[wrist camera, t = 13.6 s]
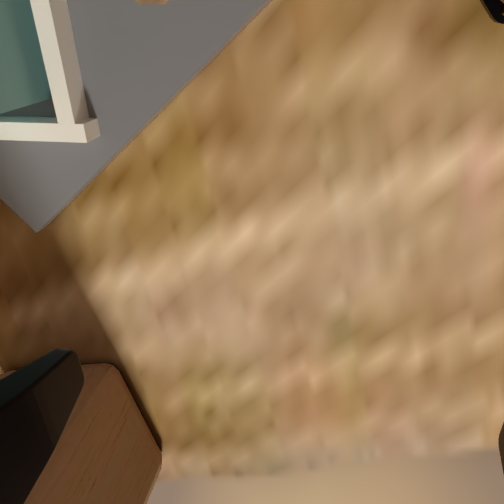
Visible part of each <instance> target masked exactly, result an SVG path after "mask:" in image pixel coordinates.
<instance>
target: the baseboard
mask: <svg viewBox="0 0 504 504" xmlns="http://www.w3.org/2000/svg"><path fill="white" fill-rule="evenodd" d="M271 1H272V0H169V1H168V2H167V3H166V4H165V5H160V4H138V3H137V2H136V1H135V0H30V3H31V8H32V12H33V17H34V21H35V25H36V30H37V34H38V38H39V43H40V47H41V52H42V56H43V60H44V65H45V69H46V73H47V78H48V82H49V87H50V91H51V95H52V99H49V100H45V101H42V102H38V103H35V104H32V105H28V106H25V107H22V108H18V109H15V110H11V111H8V112H5V113H1V114H0V199H1V200H2V201H3V202H4V203H5V204H6V205H7V206H8V207H9V208H10V209H12V210H13V211H14V212H15V213H16V214H17V215H18V216H19V217H20V218H21V219H22V220H23V221H24V222H25V223H26V224H27V225H28V226H29V227H30V228H31V229H32V230H34V231H35V232H36V233H38V232H39V231H40V230H42V229H43V228H45V227H46V226H47V225H49V224H50V223H51V222H52V221H53V220H54V219H55V218H56V217H57V216H58V215H59V214H60V213H61V212H62V211H63V210H64V209H65V208H66V207H67V206H68V205H69V204H70V203H71V202H72V201H73V200H74V199H75V198H76V197H77V196H78V195H79V194H80V193H81V192H82V191H83V190H84V189H85V188H86V187H87V186H88V185H89V184H90V183H91V182H92V181H93V180H94V179H95V178H96V177H97V176H98V175H99V174H100V173H101V172H102V171H103V170H104V169H105V168H106V167H107V166H108V165H109V164H110V163H111V162H112V161H113V160H114V159H115V158H116V157H117V156H118V155H119V154H120V153H121V152H122V151H123V150H124V149H125V148H126V147H127V146H128V145H129V144H130V143H131V142H132V141H133V140H134V139H135V138H136V137H137V136H138V135H139V134H140V133H141V132H142V131H143V130H144V129H145V128H146V127H147V126H148V125H149V124H150V123H151V122H152V121H153V120H154V119H155V118H156V117H157V115H158V114H159V113H160V112H161V111H162V110H163V109H164V108H165V107H166V106H167V105H168V104H169V103H170V102H171V101H172V100H173V99H174V98H175V97H176V96H177V95H178V94H179V93H180V92H181V91H182V90H183V89H184V88H185V87H186V86H187V85H188V84H189V83H190V82H191V81H192V80H193V79H194V78H195V77H196V76H197V75H198V74H199V73H200V72H201V71H202V70H203V69H204V68H205V67H206V66H207V65H208V64H209V63H210V62H211V61H212V60H213V59H214V58H215V57H216V56H217V55H218V54H219V53H220V52H221V51H222V50H223V49H224V48H225V47H226V46H227V45H228V44H229V43H230V42H231V41H232V40H233V39H234V38H235V37H236V36H237V35H238V34H239V33H240V32H241V31H242V30H243V29H244V28H245V27H246V26H247V25H248V24H249V23H250V22H251V21H252V20H253V19H254V18H255V17H256V16H257V15H258V14H259V13H260V12H261V11H262V10H263V9H264V8H265V7H266V6H267V5H268V4H269V3H270V2H271Z"/></svg>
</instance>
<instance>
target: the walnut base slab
mask: <svg viewBox="0 0 504 504" xmlns="http://www.w3.org/2000/svg"><path fill="white" fill-rule="evenodd" d="M135 1H136V2H137V3H138V4H160V5H165V4H166V3H167V2H168V1H169V0H135Z"/></svg>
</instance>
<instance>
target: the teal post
mask: <svg viewBox="0 0 504 504" xmlns="http://www.w3.org/2000/svg"><path fill="white" fill-rule="evenodd" d="M49 99H52V95H51V91H50V87H49V82H48V78H47V73H46V69H45V65H44V60H43V56H42V52H41V47H40V43H39V38H38V34H37V30H36V25H35V21H34V17H33V12H32V8H31V3H30V0H0V114H1V113H5V112H8V111H11V110H15V109H18V108H22V107H25V106H28V105H32V104H35V103H38V102H42V101H45V100H49Z"/></svg>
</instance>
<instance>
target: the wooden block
mask: <svg viewBox="0 0 504 504" xmlns="http://www.w3.org/2000/svg"><path fill="white" fill-rule="evenodd" d="M81 366H82V369H83V373H84V385H83V388H82V391H81V393H80V395H79V397H78V400H77V402H76V404H75V406H74V408H73V411H72V413H71V415H70V417H69V420H68V422H67V424H66V426H65V428H64V431H63V433H62V435H61V437H60V440H59V442H58V444H57V446H56V448H55V450H54V452H53V453H52V455H51V457H50V459H49V461H48V463H47V464H46V466H45V468H44V470H43V471H42V473H41V475H40V477H39V478H38V480H37V482H36V483H35V485H34V487H33V489H32V490H31V492H30V494H29V496H28V497H27V499H26V501H25V503H24V504H146V503H147V501H148V498H149V496H150V494H151V491H152V489H153V487H154V484H155V482H156V479H157V477H158V475H159V472H160V470H161V465H162V454H161V451H160V449H159V448H158V446H157V444H156V442H155V440H154V438H153V436H152V434H151V432H150V430H149V428H148V426H147V424H146V422H145V420H144V419H143V417H142V415H141V413H140V411H139V409H138V407H137V405H136V403H135V401H134V399H133V397H132V395H131V393H130V391H129V389H128V388H127V386H126V384H125V382H124V380H123V378H122V376H121V374H120V372H119V370H118V369H116V368H115V367H114V366H113V365H110V364H107V363H97V364H85V365H81ZM15 371H17V370H12V371H8V372H5V373H3V374H1V375H0V379H2V378H4V377H6V376H8V375H9V374H11V373H13V372H15Z"/></svg>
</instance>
